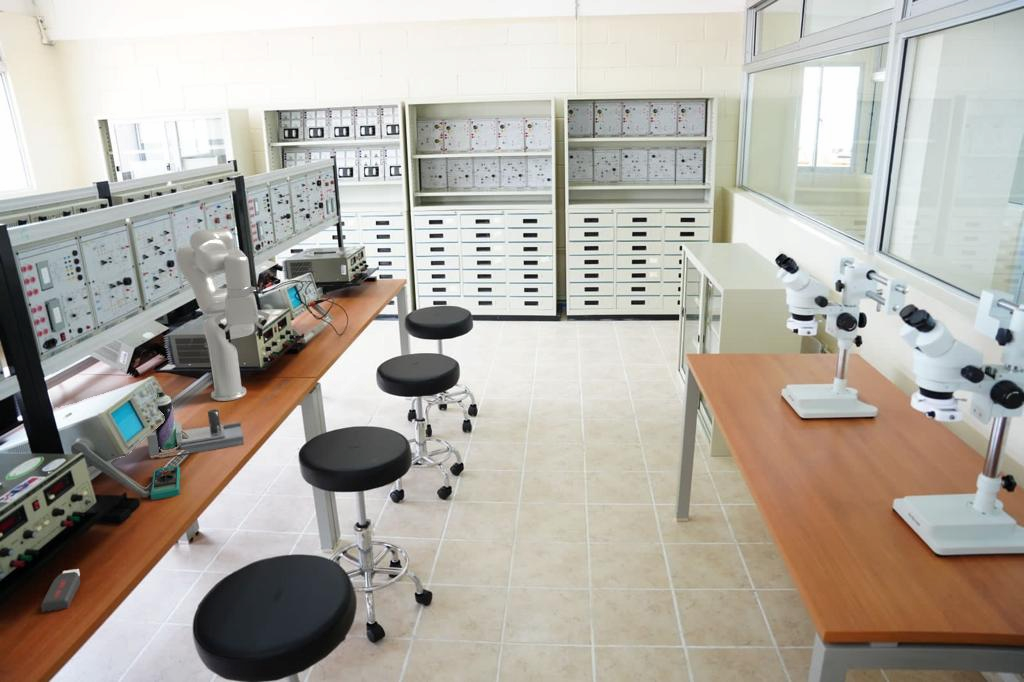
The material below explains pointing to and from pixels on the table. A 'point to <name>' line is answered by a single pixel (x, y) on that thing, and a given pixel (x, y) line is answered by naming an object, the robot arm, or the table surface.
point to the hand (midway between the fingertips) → (244, 339)
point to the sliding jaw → (202, 431)
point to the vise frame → (231, 439)
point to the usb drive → (61, 591)
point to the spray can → (166, 423)
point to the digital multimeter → (165, 482)
